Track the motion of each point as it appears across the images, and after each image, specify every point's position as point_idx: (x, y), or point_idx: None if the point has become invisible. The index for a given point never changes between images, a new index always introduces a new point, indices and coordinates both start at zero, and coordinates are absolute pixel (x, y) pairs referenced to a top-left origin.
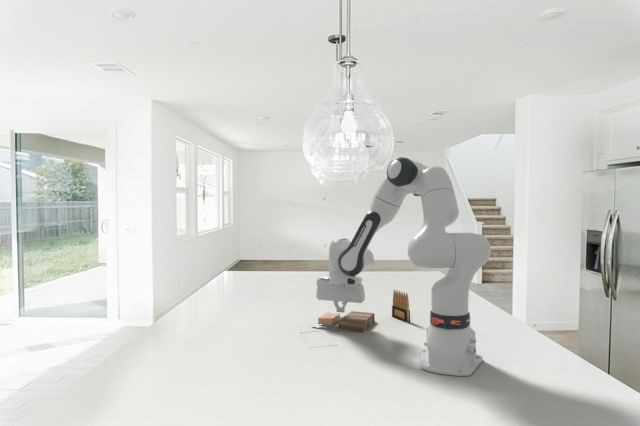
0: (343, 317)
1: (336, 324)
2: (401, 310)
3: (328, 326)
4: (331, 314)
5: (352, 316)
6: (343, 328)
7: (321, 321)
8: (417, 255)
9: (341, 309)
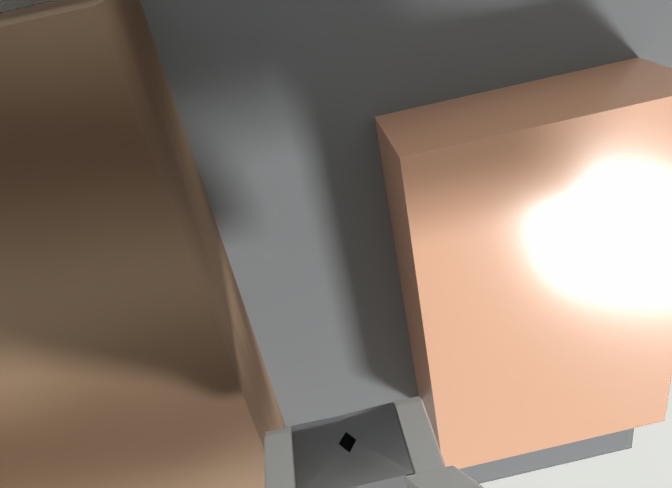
0: (197, 308)
1: (334, 199)
2: None
3: (396, 17)
4: (551, 386)
5: (102, 437)
6: (18, 12)
7: (604, 83)
8: None
9: (305, 471)
